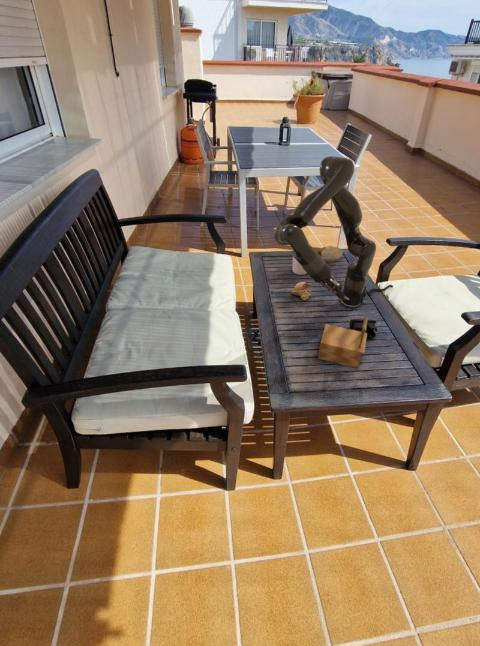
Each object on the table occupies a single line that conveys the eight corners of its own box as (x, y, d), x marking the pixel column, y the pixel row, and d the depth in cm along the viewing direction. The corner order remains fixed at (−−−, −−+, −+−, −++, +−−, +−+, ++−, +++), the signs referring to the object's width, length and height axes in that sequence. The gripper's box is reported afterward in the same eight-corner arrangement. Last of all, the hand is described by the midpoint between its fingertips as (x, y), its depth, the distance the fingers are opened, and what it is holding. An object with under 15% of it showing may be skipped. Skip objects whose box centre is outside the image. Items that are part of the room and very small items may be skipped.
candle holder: (309, 276, 206) (312, 255, 199) (291, 275, 205) (293, 254, 199) (308, 267, 214) (310, 247, 207) (290, 266, 214) (292, 246, 207)
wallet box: (360, 348, 159) (364, 334, 155) (357, 368, 149) (361, 354, 145) (323, 339, 162) (325, 325, 158) (317, 358, 153) (320, 344, 148)
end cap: (370, 329, 170) (374, 316, 166) (375, 339, 164) (379, 326, 160) (348, 328, 169) (351, 316, 165) (351, 339, 163) (355, 326, 160)
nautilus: (305, 266, 215) (302, 255, 228) (344, 265, 215) (339, 254, 228) (306, 253, 211) (303, 242, 224) (346, 252, 211) (340, 241, 224)
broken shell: (315, 302, 186) (306, 294, 179) (296, 306, 191) (287, 298, 184) (314, 285, 190) (306, 277, 182) (296, 289, 195) (287, 281, 188)
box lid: (366, 334, 155) (372, 314, 149) (364, 354, 145) (369, 334, 139) (325, 325, 158) (329, 305, 153) (320, 344, 148) (324, 324, 143)
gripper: (332, 261, 135) (359, 293, 142) (312, 257, 146) (338, 286, 154) (318, 277, 134) (346, 308, 141) (299, 271, 146) (326, 301, 153)
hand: (342, 297), depth 148 cm, fingers closed
